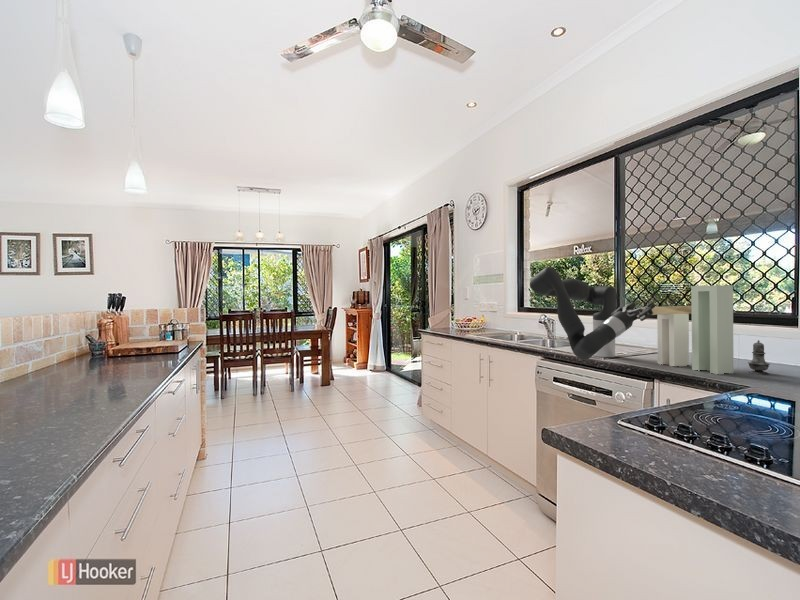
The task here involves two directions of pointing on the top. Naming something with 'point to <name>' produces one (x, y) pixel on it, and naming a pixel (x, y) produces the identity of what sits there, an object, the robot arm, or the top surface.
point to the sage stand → (712, 328)
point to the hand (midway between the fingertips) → (643, 303)
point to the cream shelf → (673, 339)
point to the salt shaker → (758, 360)
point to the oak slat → (671, 310)
